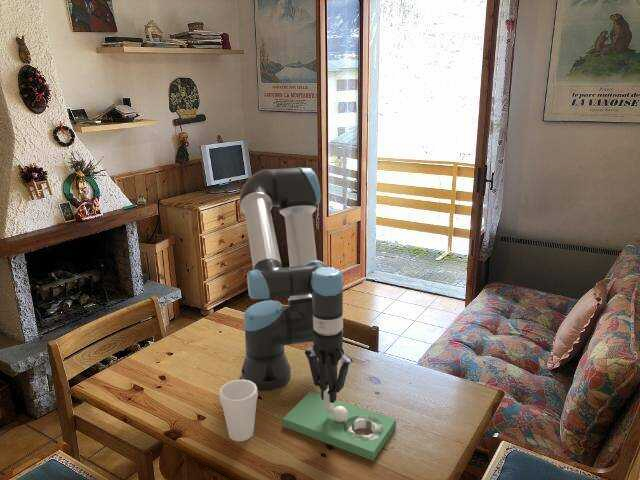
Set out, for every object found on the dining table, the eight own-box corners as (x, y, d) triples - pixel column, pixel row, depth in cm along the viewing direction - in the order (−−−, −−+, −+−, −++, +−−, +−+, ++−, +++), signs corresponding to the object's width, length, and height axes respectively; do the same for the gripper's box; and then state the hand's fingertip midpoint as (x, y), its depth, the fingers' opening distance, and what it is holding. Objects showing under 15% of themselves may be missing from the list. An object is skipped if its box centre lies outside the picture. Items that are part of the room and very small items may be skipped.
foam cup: (243, 450, 129) (240, 405, 125) (215, 437, 134) (211, 393, 130) (266, 429, 136) (264, 386, 133) (239, 417, 141) (236, 375, 137)
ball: (344, 419, 132) (337, 427, 134) (353, 411, 135) (346, 420, 137) (333, 407, 133) (326, 416, 135) (342, 400, 136) (335, 408, 138)
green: (283, 426, 137) (282, 418, 137) (310, 398, 149) (310, 391, 148) (373, 460, 125) (373, 452, 124) (395, 427, 136) (396, 419, 135)
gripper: (297, 329, 130) (300, 411, 137) (343, 341, 123) (343, 426, 130) (313, 318, 136) (315, 396, 143) (358, 329, 129) (357, 411, 136)
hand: (329, 411), depth 136 cm, fingers closed
